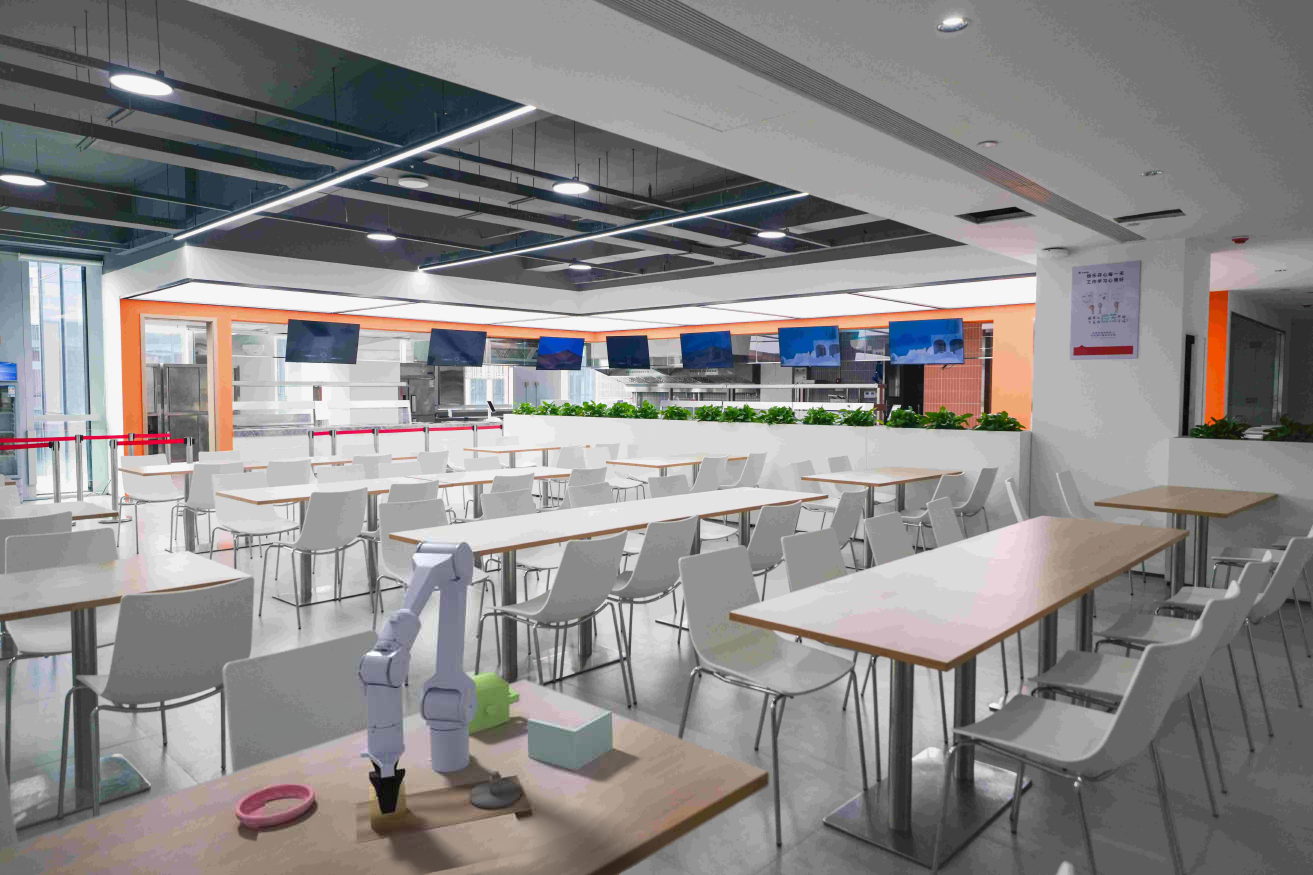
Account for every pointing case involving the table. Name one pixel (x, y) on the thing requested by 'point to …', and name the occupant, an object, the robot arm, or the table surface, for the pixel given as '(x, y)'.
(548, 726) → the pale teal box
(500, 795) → the board
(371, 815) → the collar
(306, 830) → the table surface
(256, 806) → the pink ring
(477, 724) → the lime green knobbly part
